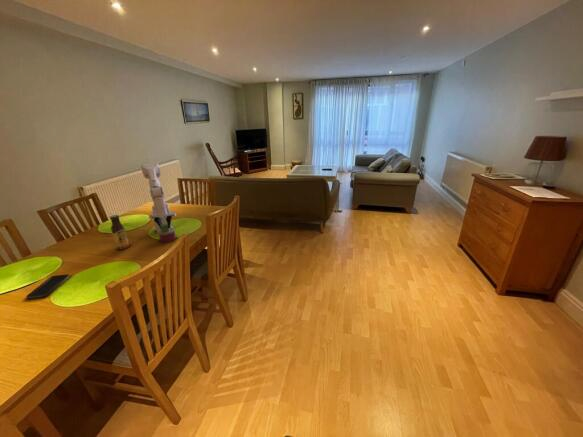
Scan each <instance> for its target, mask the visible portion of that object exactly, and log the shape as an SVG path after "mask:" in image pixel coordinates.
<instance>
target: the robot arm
mask: <svg viewBox="0 0 583 437" xmlns="http://www.w3.org/2000/svg"><path fill="white" fill-rule="evenodd" d="M140 168H141V172H142V174H143V177H144V179H147V180H148V185H149V193H150V197H151V200H152V202H153V205H152V206H151V210H152V214H149V215H148V219H149V220H152V219H153V225H154V228H155V229H154V231H155V232H158V230H160V229H161V227H160V226H161V224H162V223H168V228H170V227H173V228H175V226H172V218H175V217H176V216H177V213H176V212H171V211H170V207H169V204H168V203H166V202H165V201H166V200H165V193H164V188H163V187H162V185H161V181H160V179H159V178H160V177H161V169H160V165H159V163H158V162H154V163H144V164H142V163H141V164H140Z"/></svg>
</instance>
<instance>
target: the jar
mask: <svg viewBox="0 0 583 437" xmlns="http://www.w3.org/2000/svg"><path fill="white" fill-rule="evenodd" d="M173 227H174V226H172V227H170V230H169V231H166V232H162V231H161V229H160V230H158V231H157V235H158V238H159V241H160V242H161V243H170V242H172V241H175V240H176V239H177V235H176V229H175V227H174V228H173Z"/></svg>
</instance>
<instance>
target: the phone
mask: <svg viewBox="0 0 583 437" xmlns="http://www.w3.org/2000/svg"><path fill="white" fill-rule="evenodd" d="M68 279H70V274H58V275H56V274H55V275H52V276H49V278H48V279H46V280H45V281H43V282H42V283H41V284H40V285H38V286H37V287H36V288H34V289H33V290H31V292H29V293H28V294H27V295H26V296H25V298H26V299H27V300H31V299H32V300H34V299H35V300H36V299H44V298H46V297H48V296H50V295H51V294H53V292H54V291H55V290H57V289H58V288H59V287H60V286H61V285H62V284H64V283H65V282H66V281H67V280H68Z"/></svg>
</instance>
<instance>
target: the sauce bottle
mask: <svg viewBox="0 0 583 437" xmlns="http://www.w3.org/2000/svg"><path fill="white" fill-rule="evenodd" d="M109 219H110V221H111V227H110V230H111V235H112V238H113V240H114V244H115V247H116V249H117V250H125V249H128V248H129V247H130V242H129V239H128V235H127V231H126V228H125V227H124V225H123V224H122V223H121V220H120V215H119V214H113V215H110V216H109Z"/></svg>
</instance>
